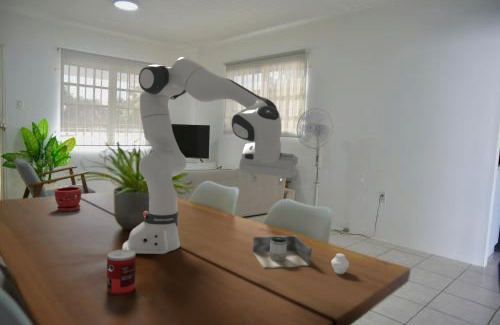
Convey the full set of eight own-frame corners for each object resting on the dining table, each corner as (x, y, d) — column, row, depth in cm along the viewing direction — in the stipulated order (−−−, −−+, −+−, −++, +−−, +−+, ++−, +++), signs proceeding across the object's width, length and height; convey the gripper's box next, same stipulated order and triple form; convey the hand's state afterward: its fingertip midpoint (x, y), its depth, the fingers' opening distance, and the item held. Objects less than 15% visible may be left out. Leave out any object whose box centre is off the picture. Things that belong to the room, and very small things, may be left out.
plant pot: (65, 206, 202) (65, 185, 201) (86, 208, 200) (86, 187, 199) (49, 211, 189) (48, 189, 188) (71, 213, 187) (71, 191, 186)
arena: (263, 268, 124) (264, 250, 123) (252, 252, 139) (253, 236, 139) (310, 265, 128) (311, 248, 128) (294, 250, 144) (295, 235, 143)
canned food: (111, 283, 107) (111, 248, 106) (137, 283, 108) (138, 249, 107) (103, 295, 100) (103, 258, 99) (131, 295, 100) (132, 258, 99)
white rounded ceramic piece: (329, 268, 127) (330, 249, 126) (346, 269, 127) (347, 250, 126) (332, 275, 121) (333, 256, 120) (350, 276, 121) (351, 257, 120)
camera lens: (284, 262, 129) (286, 242, 128) (268, 260, 130) (269, 240, 129) (286, 256, 135) (287, 237, 134) (270, 254, 136) (271, 235, 136)
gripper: (299, 149, 120) (296, 180, 129) (241, 144, 124) (242, 174, 132) (297, 160, 115) (295, 191, 124) (237, 154, 119) (239, 184, 127)
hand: (267, 182), depth 128 cm, fingers open, 8 cm apart
